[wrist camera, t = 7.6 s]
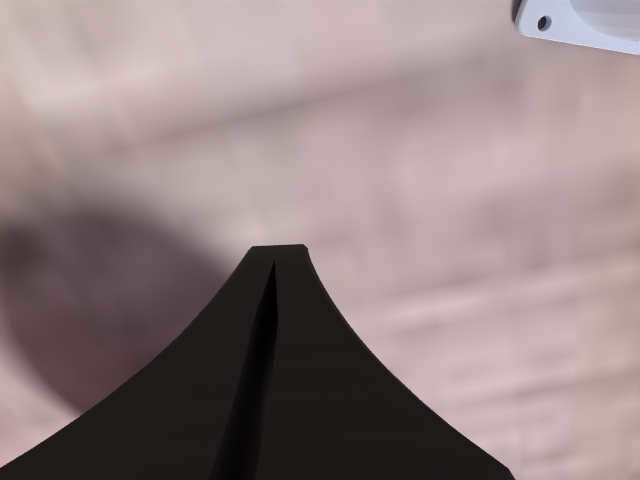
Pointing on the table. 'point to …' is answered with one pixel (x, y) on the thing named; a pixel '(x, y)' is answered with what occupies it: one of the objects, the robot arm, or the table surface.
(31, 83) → the table surface
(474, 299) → the table surface
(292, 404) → the robot arm
